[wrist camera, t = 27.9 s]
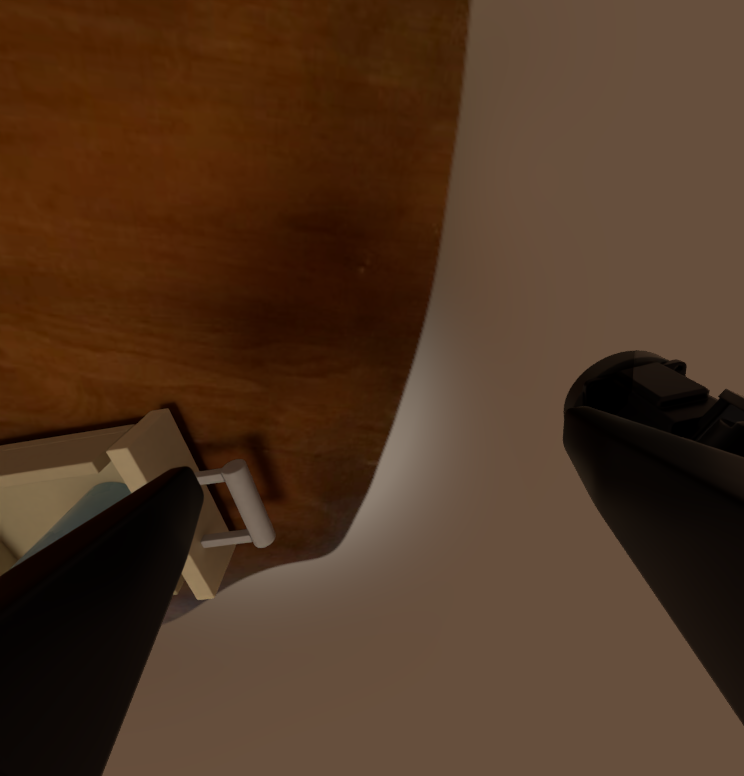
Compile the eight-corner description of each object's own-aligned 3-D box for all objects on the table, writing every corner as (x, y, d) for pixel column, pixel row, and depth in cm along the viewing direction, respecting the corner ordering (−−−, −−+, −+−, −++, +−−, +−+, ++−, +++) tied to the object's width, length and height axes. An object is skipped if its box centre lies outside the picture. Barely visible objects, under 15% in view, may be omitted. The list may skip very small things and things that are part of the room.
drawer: (242, 395, 22) (214, 434, 18) (296, 537, 27) (284, 590, 23) (-70, 446, 23) (-156, 491, 19) (39, 570, 28) (-11, 625, 25)
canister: (156, 489, 23) (-94, 811, 11) (155, 535, 25) (-59, 855, 13) (85, 474, 23) (-265, 795, 10) (89, 523, 25) (-203, 844, 12)
